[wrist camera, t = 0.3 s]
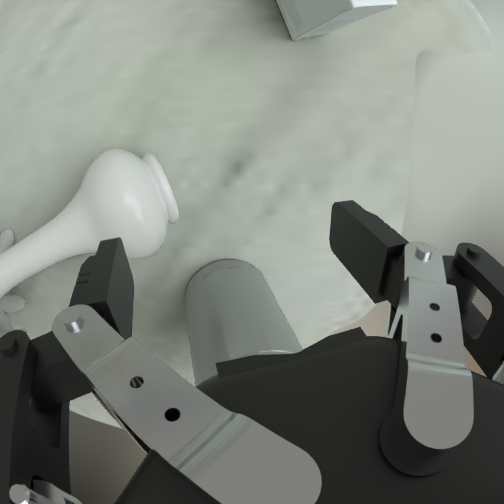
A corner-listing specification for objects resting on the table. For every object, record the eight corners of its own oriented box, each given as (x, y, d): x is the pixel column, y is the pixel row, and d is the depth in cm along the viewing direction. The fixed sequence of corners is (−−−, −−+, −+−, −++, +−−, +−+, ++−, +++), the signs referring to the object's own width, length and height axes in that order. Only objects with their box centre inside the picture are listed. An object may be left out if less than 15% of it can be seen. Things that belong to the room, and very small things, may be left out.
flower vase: (131, 141, 32) (-45, 242, 25) (148, 82, 16) (-136, 274, 8) (176, 246, 36) (3, 339, 28) (232, 285, 19) (-50, 429, 12)
